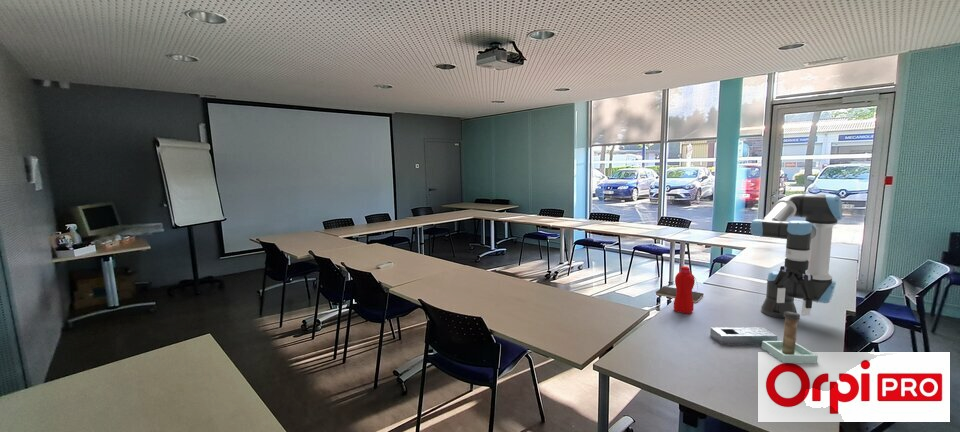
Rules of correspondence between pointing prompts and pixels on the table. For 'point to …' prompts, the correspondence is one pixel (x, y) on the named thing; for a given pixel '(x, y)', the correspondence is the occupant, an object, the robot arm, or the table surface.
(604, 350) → the table surface
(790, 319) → the pin
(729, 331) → the block
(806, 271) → the robot arm
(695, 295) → the hardcover book
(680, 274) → the water bottle
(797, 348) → the tray
